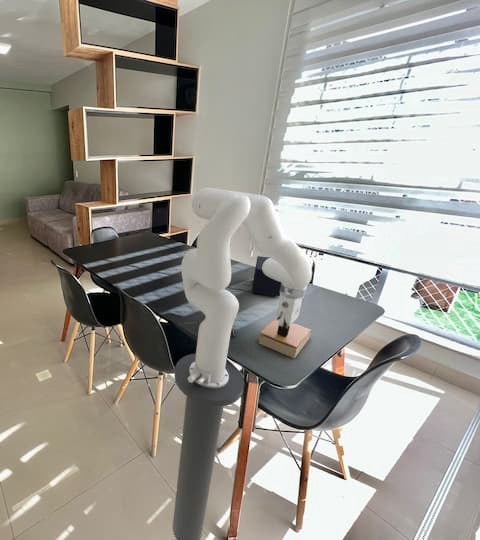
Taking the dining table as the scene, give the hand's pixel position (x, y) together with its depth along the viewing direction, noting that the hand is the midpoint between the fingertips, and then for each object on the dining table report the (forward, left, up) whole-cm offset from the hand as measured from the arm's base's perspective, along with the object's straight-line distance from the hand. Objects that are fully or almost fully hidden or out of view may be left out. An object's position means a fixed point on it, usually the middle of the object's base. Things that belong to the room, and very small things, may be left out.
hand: (282, 334), depth 106 cm
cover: (+4, 0, -1) cm, 4 cm away
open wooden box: (+5, 0, -5) cm, 7 cm away
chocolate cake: (-5, +19, -5) cm, 21 cm away
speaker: (+48, +24, -5) cm, 54 cm away
